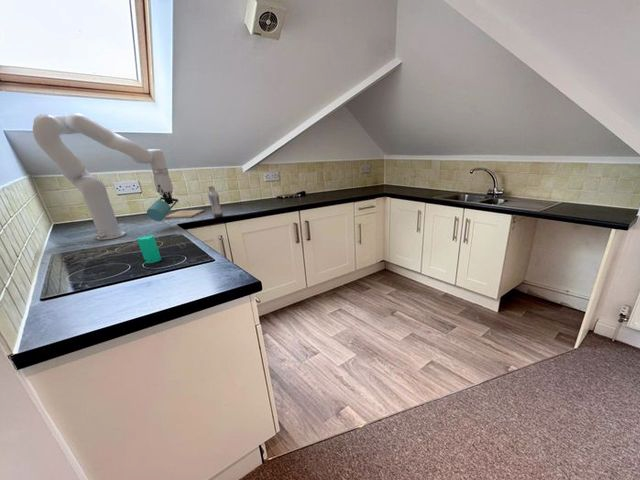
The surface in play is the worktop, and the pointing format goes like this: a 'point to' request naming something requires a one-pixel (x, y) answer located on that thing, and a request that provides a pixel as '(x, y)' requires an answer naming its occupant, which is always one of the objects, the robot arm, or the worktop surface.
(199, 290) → the worktop surface
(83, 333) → the worktop surface
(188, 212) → the board
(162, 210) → the bucket
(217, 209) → the plastic bottle
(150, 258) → the candle
